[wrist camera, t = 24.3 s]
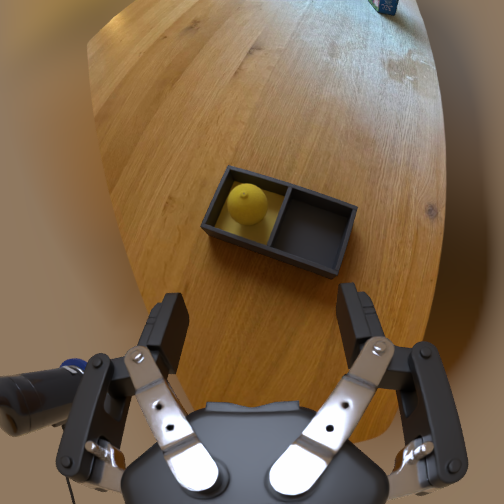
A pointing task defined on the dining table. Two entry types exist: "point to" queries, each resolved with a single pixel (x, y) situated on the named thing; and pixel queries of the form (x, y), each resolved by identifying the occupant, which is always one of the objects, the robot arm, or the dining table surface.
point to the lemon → (247, 204)
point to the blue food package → (385, 6)
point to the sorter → (285, 223)
